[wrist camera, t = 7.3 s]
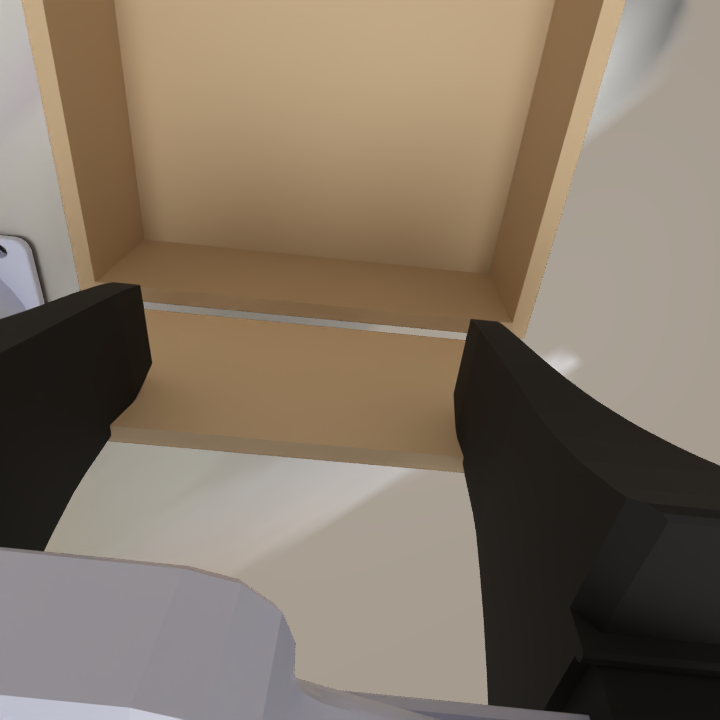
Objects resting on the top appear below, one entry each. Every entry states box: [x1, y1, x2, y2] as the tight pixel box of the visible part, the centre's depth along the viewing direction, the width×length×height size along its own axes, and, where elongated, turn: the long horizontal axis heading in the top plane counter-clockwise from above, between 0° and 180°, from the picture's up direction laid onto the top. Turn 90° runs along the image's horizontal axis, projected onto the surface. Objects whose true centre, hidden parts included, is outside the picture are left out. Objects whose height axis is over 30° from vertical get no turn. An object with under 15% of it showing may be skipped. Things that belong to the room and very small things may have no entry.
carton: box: [21, 0, 626, 338], centre depth 14 cm, size 14×16×4 cm
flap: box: [108, 309, 466, 473], centre depth 13 cm, size 13×6×1 cm
